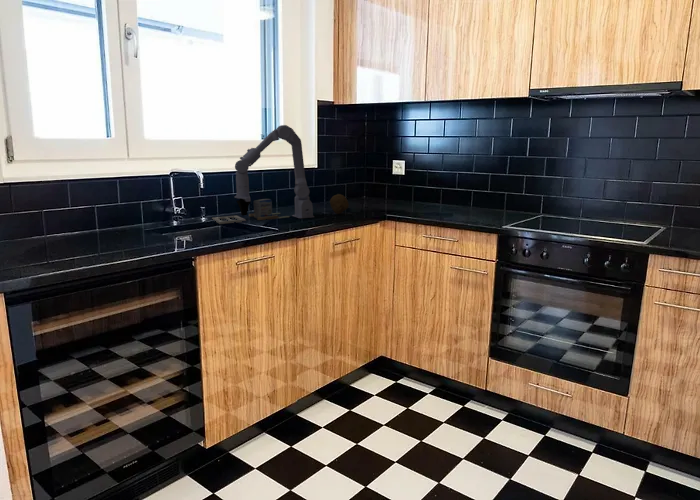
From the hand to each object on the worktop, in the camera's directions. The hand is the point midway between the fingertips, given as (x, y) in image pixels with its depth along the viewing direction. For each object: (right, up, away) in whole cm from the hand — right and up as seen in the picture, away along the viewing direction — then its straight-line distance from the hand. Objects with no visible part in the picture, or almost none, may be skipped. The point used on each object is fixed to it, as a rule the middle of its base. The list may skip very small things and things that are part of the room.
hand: (244, 215), depth 235 cm
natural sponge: (+45, +1, +14) cm, 47 cm away
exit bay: (+15, 0, +9) cm, 18 cm away
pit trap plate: (-7, -3, -3) cm, 8 cm away
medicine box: (+8, -1, +5) cm, 10 cm away
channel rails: (+8, -1, +5) cm, 10 cm away
